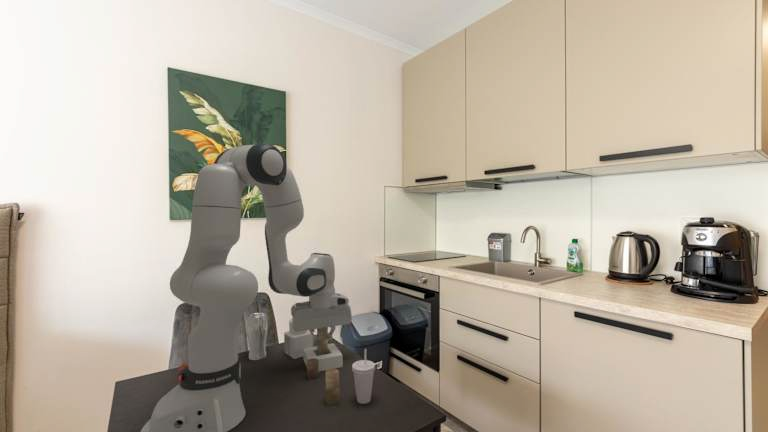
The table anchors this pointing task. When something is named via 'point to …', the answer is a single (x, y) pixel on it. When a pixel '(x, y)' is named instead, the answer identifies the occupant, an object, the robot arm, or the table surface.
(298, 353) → the container
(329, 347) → the socket block
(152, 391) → the table surface
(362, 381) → the smoothie
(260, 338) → the beer glass
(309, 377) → the walnut pin
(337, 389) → the oak pin
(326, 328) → the maple pin
